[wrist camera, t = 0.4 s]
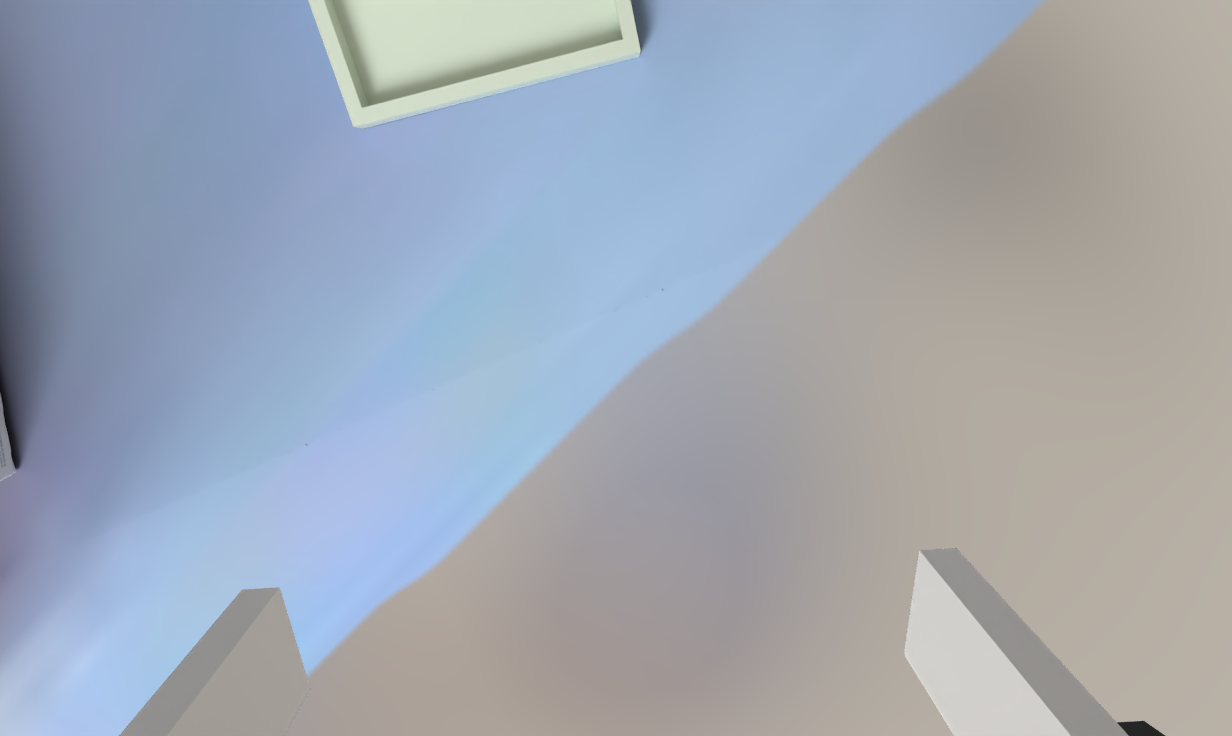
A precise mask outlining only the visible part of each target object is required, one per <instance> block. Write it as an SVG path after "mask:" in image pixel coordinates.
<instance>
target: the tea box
mask: <svg viewBox="0 0 1232 736" xmlns="http://www.w3.org/2000/svg"><path fill="white" fill-rule="evenodd" d="M14 472H16V469H15V466H14V463H13V460H12V457H11V448H10V443H9V437H8V432H7V429H6V425H5V420H4V414H3V405H2V399H1V394H0V481H2V480H4V479H5V478H7V477H9V476H11V475H13V474H14Z"/></svg>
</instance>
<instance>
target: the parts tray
mask: <svg viewBox="0 0 1232 736" xmlns="http://www.w3.org/2000/svg"><path fill="white" fill-rule="evenodd" d="M308 1H309V4H310V6H311V9H312V12H313V15H314V17H315V20H316V23H317V26H318V29H319V31H320V34H321V37H322V40H323V43H324V45H325V48H326V51H327V54H328V57H329V59H330V62H331V65H332V68H333V71H334V73H335V76H336V79H337V82H338V85H339V87H340V90H341V93H342V96H343V99H344V101H345V104H346V107H347V110H348V113H349V115H350V118H351V121H352V124H353V127H358V128H364V129H365V128H369V127H373V126H377V125H380V124H384V123H388V122H392V121H396V120H400V119H403V118H407V117H411V116H415V115H419V114H422V113H426V112H430V111H434V110H438V109H442V108H445V107H449V106H453V105H457V104H461V103H465V102H468V101H472V100H476V99H480V98H484V97H488V96H491V95H495V94H499V93H503V92H507V91H510V90H514V89H518V88H522V87H526V86H530V85H533V84H537V83H541V82H545V81H549V80H553V79H556V78H560V77H564V76H568V75H572V74H575V73H579V72H583V71H587V70H591V69H595V68H598V67H602V66H606V65H610V64H614V63H618V62H621V61H625V60H629V59H633V58H637V57H639V56H640V52H641V50H640V45H639V40H638V35H637V30H636V25H635V20H634V15H633V10H632V5H631V0H308Z"/></svg>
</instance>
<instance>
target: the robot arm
mask: <svg viewBox="0 0 1232 736" xmlns="http://www.w3.org/2000/svg"><path fill="white" fill-rule="evenodd" d="M904 655H905V657H906V658H907V660H908V662H909V663H910V665H911V667H912V668H913V670H914V671H915V673H916V675H917V676H918V678H919V680H920V681H921V683H922V684H923V686H924V688H925V689H926V691H927V693H928V694H929V696H930V698H931V699H932V701H933V702H934V704H935V706H936V707H937V709H938V711H939V712H940V714H941V716H942V717H943V719H944V720H945V722H946V724H947V725H948V727H949V729H950V730H951V732H952V733H953V735H954V736H1165V735H1163V734H1162V733H1160V732H1159V731H1158V730H1156V729H1155V728H1153V727H1152V726H1150V725H1149V724H1148V723H1146V722H1145V721H1137V722H1118V723H1117V722H1116V721H1115V720H1114V719H1113V718H1112V717H1111V716H1110V715H1109V714H1108V713H1107V711H1106V710H1105V709H1104V708H1103V707H1102V706H1101V705H1100V704H1099V703H1098V702H1097V701H1096V699H1095V698H1094V697H1093V696H1092V695H1091V694H1090V693H1089V692H1088V691H1087V690H1086V689H1085V688H1084V686H1083V685H1082V684H1081V683H1080V682H1079V681H1078V680H1077V679H1076V678H1075V677H1074V676H1073V674H1072V673H1071V672H1070V671H1069V670H1068V669H1067V668H1066V667H1065V666H1064V665H1063V664H1062V663H1061V661H1060V660H1059V659H1058V658H1057V657H1056V656H1055V655H1054V654H1053V653H1052V652H1051V650H1050V649H1049V648H1048V647H1047V646H1046V645H1045V644H1044V643H1043V642H1042V641H1041V640H1040V638H1039V637H1038V636H1037V635H1036V634H1035V633H1034V632H1033V631H1032V630H1031V629H1030V628H1029V627H1028V625H1027V624H1026V623H1025V622H1024V621H1023V620H1022V619H1021V618H1020V617H1019V616H1018V615H1017V614H1016V612H1015V611H1014V610H1013V609H1012V608H1011V607H1010V606H1009V605H1008V604H1007V603H1006V601H1005V600H1004V599H1003V598H1002V597H1001V596H1000V595H999V594H998V593H997V592H996V591H995V589H994V588H993V587H992V586H991V585H990V584H989V583H988V582H987V581H986V580H985V579H984V578H983V577H982V575H981V574H980V573H979V572H978V571H977V570H976V569H975V568H974V567H973V566H972V564H971V563H970V562H969V561H968V560H967V559H966V558H965V557H964V556H963V555H962V554H961V552H960V551H959V550H958V549H957V548H951V549H934V550H920V551H919V556H918V563H917V570H916V577H915V583H914V590H913V598H912V604H911V610H910V617H909V624H908V631H907V637H906V644H905V651H904ZM309 691H310V686H309V683H308V679H307V676H306V673H305V669H304V666H303V663H302V660H301V656H300V653H299V650H298V646H297V643H296V640H295V637H294V633H293V630H292V627H291V623H290V620H289V617H288V614H287V610H286V607H285V604H284V600H283V597H282V594H281V591H280V588H263V589H246V590H241V592H240V593H239V594H238V595H237V596H236V598H235V599H234V600H233V601H232V602H231V604H230V605H229V606H228V607H227V608H226V609H225V611H224V612H223V613H222V614H221V615H220V617H219V618H218V619H217V620H216V621H215V623H214V624H213V625H212V626H211V627H210V628H209V630H208V631H207V632H206V633H205V634H204V636H203V637H202V638H201V639H200V640H199V641H198V643H197V644H196V645H195V646H194V647H193V649H192V650H191V651H190V652H189V653H188V655H187V656H186V657H185V658H184V659H183V660H182V662H181V663H180V664H179V665H178V666H177V668H176V669H175V670H174V671H173V672H172V674H171V675H170V676H169V677H168V678H167V679H166V681H165V682H164V683H163V684H162V685H161V687H160V688H159V689H158V690H157V691H156V693H155V694H154V695H153V696H152V697H151V698H150V700H149V701H148V702H147V703H146V704H145V706H144V707H143V708H142V709H141V710H140V712H139V713H138V714H137V715H136V716H135V717H134V719H133V720H132V721H131V722H130V723H129V725H128V726H127V727H126V728H125V729H124V731H123V732H122V733H121V734H120V735H119V736H285V734H286V733H287V731H288V729H289V727H290V725H291V724H292V722H293V720H294V718H295V716H296V715H297V713H298V711H299V709H300V707H301V706H302V704H303V702H304V700H305V698H306V697H307V695H308V693H309Z"/></svg>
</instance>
